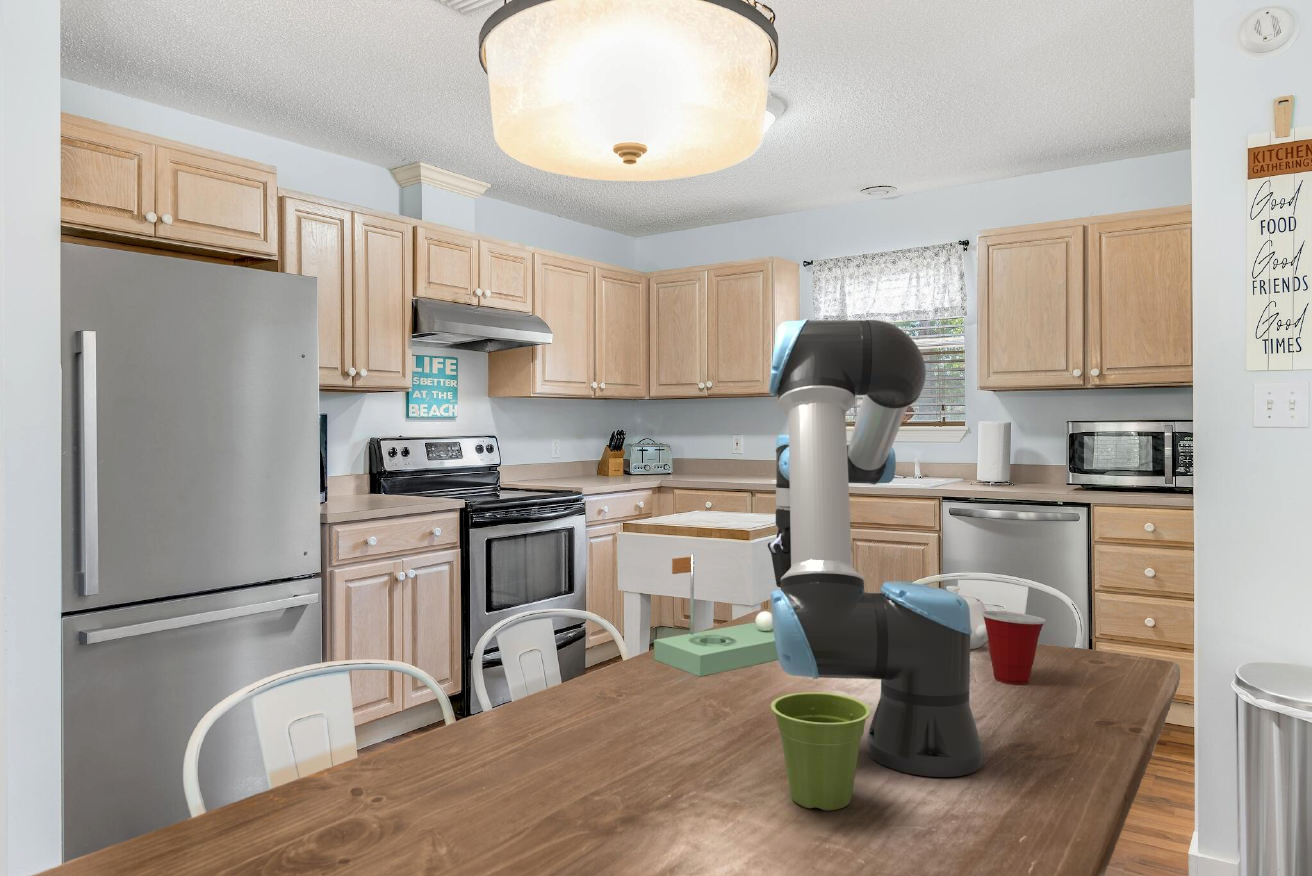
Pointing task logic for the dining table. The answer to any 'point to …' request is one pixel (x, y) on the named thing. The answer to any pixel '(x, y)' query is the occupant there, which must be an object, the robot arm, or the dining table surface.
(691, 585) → the flag
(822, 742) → the plant pot
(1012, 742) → the dining table surface
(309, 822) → the dining table surface
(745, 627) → the putting board
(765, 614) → the ball
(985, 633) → the teapot
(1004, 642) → the plastic cup
